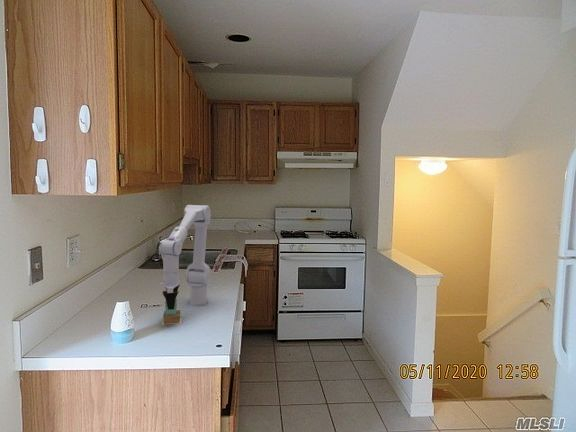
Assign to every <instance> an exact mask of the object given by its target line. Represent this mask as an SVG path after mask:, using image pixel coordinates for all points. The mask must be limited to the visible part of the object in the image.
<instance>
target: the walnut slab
mask: <svg viewBox="0 0 576 432" xmlns="http://www.w3.org/2000/svg"><path fill="white" fill-rule="evenodd" d="M162 315H163V316H162V322H163V325H171V324H170V323H178V324H181V323H180V317H181V309H177V314H176V315H165V310H164V312H163V314H162Z"/></svg>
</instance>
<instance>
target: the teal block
mask: <svg viewBox="0 0 576 432" xmlns="http://www.w3.org/2000/svg"><path fill="white" fill-rule="evenodd" d="M177 299H178V298H176V300H175V307H174V309H171V310H168V307H167V303H166V300H165V301H164V303H165V305H164V306H165V307H164V309H165V310H164V311H165V315H176V314H177V310H178V306H177V305H178V301H177Z"/></svg>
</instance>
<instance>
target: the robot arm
mask: <svg viewBox="0 0 576 432" xmlns="http://www.w3.org/2000/svg"><path fill="white" fill-rule="evenodd" d="M183 214H184V216H183V218H182V220H181V222H180V223H179V226H175V227H174V229H173V230H172V232H171V233H170V235H169V236H168V238H166V239H165V240H162V242H161V243H160V246H159V254H160V255H161V260H162V264H163V266H162V268H163V269H162V270H163V271H162V275H163V276H162V277H163V282H160V283H159V285H160V286H163V287H164V288H165V290H162V295H163V297H164V299H165V301H166V303H167V307H168V310H171V309H174V307H175V300H176V299H177V296H178V294H179V292H180V291H178V290H179V287H180V286H181V285H180V283H181V282H180V267H179V266H180V262H179V261H180V255H181V253H182V249H183V246H184V245H183V243H184V242H185V240H186V238H187V237H188V230H190V228H191V226H192V225H194V227H195V229H194V230H195V232H194V242H193V243H194V244H193V256H192V257H193V258H192V263H190V264H189V265H187V268H186V273H185V282H186V283H187V285H188V286H189V304H190V305H191V306H203V305H206V304H207V302H208V299H207V298H208V297H207V296H208V285H209V283H211V279H212V273H211V267H210V266H209V265H208V264H207V263H206V262H205V261H206V259H205V258H206V248H207V233H208V226H209V225H210V224H211V217H212V216H211V215H212V210H211V208H210V206H209V205H208V204H206V205H202V204H201V205H197V204H196V205H194V204H187V205H186V206H185V208H184V211H183Z"/></svg>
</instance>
